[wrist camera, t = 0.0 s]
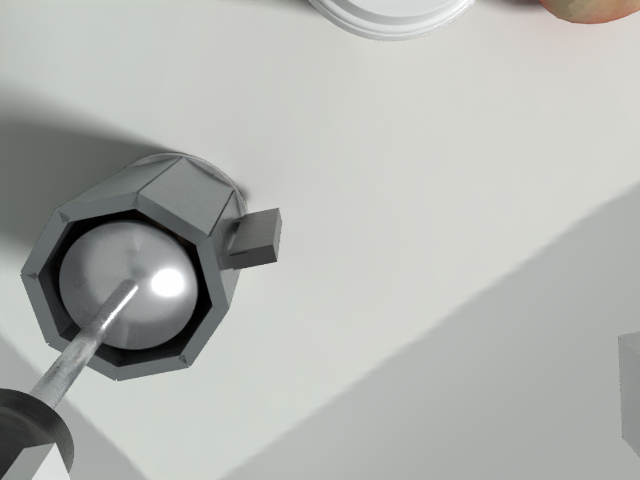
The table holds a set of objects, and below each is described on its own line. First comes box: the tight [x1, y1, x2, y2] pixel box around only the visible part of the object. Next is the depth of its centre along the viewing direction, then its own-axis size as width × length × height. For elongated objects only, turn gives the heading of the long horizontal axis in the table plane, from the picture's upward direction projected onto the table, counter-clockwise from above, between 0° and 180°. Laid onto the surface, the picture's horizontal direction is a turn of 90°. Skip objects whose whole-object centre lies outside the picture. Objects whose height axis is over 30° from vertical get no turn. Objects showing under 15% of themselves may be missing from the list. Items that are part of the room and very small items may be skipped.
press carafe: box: [20, 153, 282, 381], centre depth 35 cm, size 11×13×12 cm
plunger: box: [0, 219, 199, 480], centre depth 23 cm, size 7×7×16 cm
